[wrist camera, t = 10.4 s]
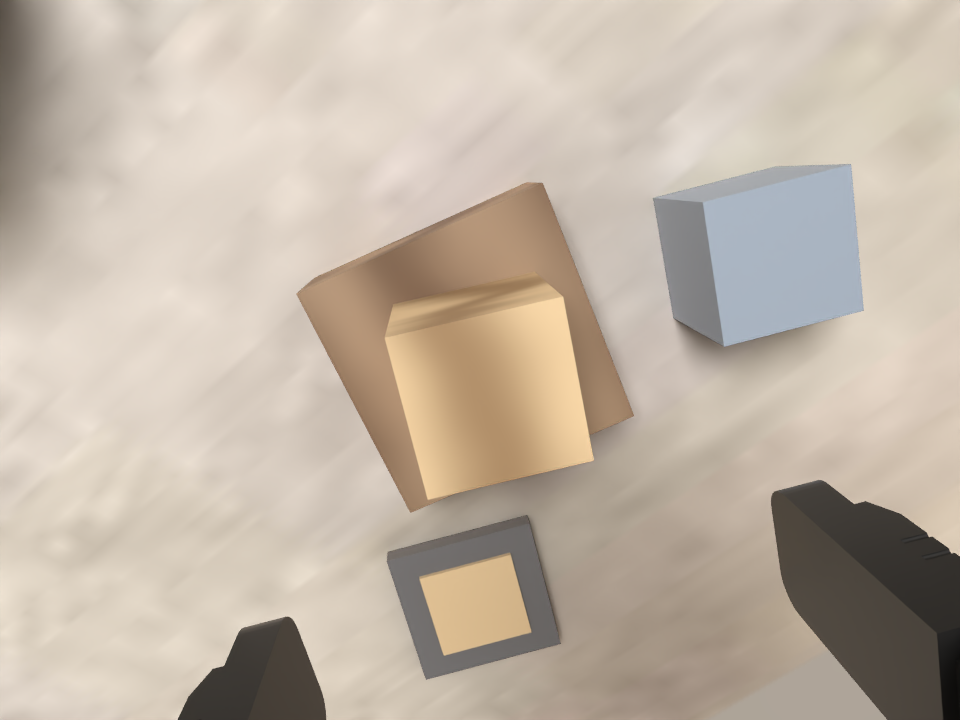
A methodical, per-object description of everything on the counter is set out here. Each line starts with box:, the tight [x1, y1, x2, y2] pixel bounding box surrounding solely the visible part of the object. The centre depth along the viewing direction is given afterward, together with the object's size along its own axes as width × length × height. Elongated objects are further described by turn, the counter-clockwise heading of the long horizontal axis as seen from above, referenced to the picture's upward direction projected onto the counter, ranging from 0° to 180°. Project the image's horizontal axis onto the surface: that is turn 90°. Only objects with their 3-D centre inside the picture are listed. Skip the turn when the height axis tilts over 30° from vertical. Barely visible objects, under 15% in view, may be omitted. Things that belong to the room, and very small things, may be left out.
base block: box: [297, 182, 634, 513], centre depth 28 cm, size 10×10×4 cm
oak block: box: [385, 272, 594, 500], centre depth 24 cm, size 6×6×6 cm
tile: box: [387, 515, 561, 680], centre depth 33 cm, size 7×7×1 cm
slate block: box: [653, 164, 864, 347], centre depth 27 cm, size 6×6×6 cm
